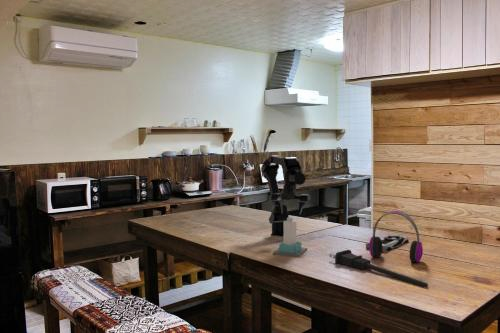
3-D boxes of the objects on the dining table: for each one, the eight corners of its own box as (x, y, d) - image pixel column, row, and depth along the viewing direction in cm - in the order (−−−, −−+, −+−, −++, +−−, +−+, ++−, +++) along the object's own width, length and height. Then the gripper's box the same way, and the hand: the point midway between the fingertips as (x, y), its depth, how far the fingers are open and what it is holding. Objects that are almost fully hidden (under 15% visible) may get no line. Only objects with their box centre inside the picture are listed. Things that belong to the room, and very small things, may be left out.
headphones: (423, 260, 173) (424, 211, 171) (420, 266, 165) (421, 215, 164) (372, 253, 183) (372, 208, 182) (367, 258, 176) (367, 211, 174)
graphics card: (365, 243, 190) (391, 233, 208) (365, 250, 191) (391, 239, 208) (386, 246, 183) (411, 236, 201) (386, 254, 184) (411, 243, 202)
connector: (283, 249, 189) (283, 217, 187) (290, 248, 191) (290, 216, 190) (289, 251, 185) (289, 219, 184) (296, 250, 188) (296, 217, 187)
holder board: (273, 254, 185) (272, 245, 185) (282, 247, 196) (281, 239, 196) (299, 256, 180) (299, 247, 180) (307, 249, 191) (307, 241, 191)
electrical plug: (340, 257, 178) (341, 246, 178) (433, 289, 145) (433, 275, 144) (326, 261, 173) (326, 249, 173) (418, 295, 140) (419, 281, 139)
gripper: (266, 184, 202) (266, 216, 203) (304, 185, 195) (304, 218, 196) (274, 181, 212) (274, 212, 214) (310, 182, 205) (310, 214, 206)
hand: (290, 214), depth 207 cm, fingers open, 9 cm apart
